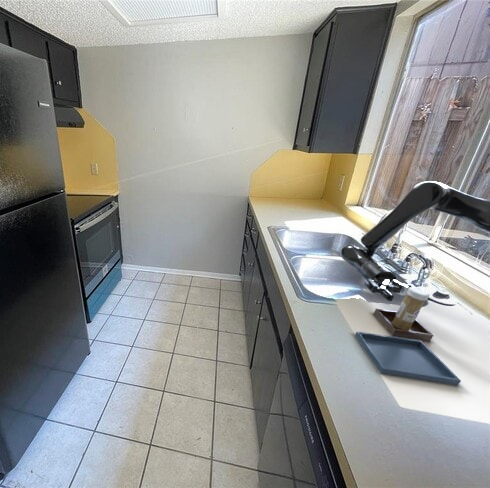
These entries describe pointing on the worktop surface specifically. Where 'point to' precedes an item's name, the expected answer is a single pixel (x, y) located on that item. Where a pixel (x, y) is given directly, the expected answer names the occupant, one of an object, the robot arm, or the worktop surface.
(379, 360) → the tray
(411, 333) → the bin
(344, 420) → the worktop surface
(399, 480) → the worktop surface
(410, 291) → the sprinkles bottle
